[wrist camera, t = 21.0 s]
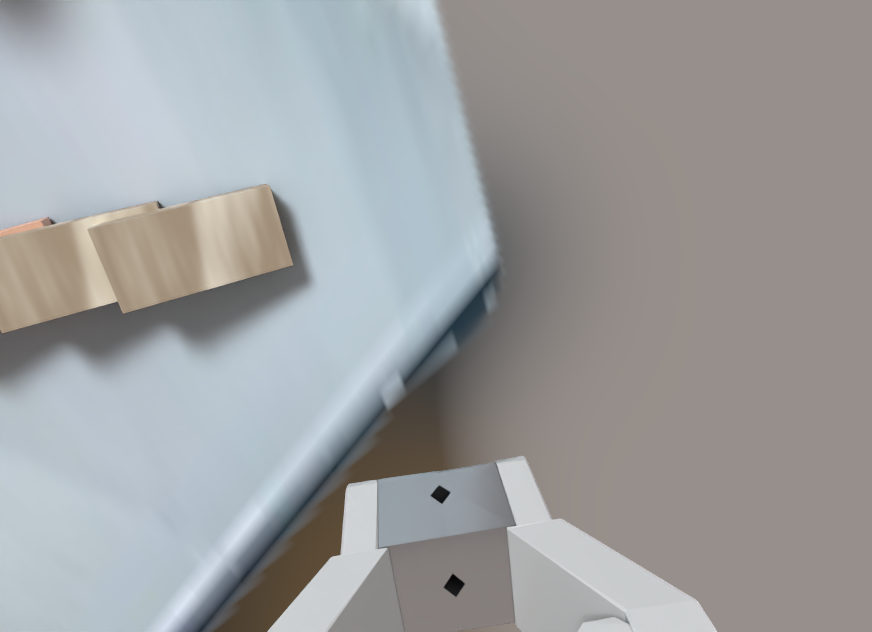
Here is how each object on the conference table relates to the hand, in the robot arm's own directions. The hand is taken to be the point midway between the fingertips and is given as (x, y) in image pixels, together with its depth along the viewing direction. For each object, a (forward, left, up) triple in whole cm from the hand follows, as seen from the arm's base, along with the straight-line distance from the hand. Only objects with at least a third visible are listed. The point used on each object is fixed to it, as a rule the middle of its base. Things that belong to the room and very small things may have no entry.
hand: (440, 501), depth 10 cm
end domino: (-7, 0, -28) cm, 29 cm away
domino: (-14, 0, -28) cm, 31 cm away
